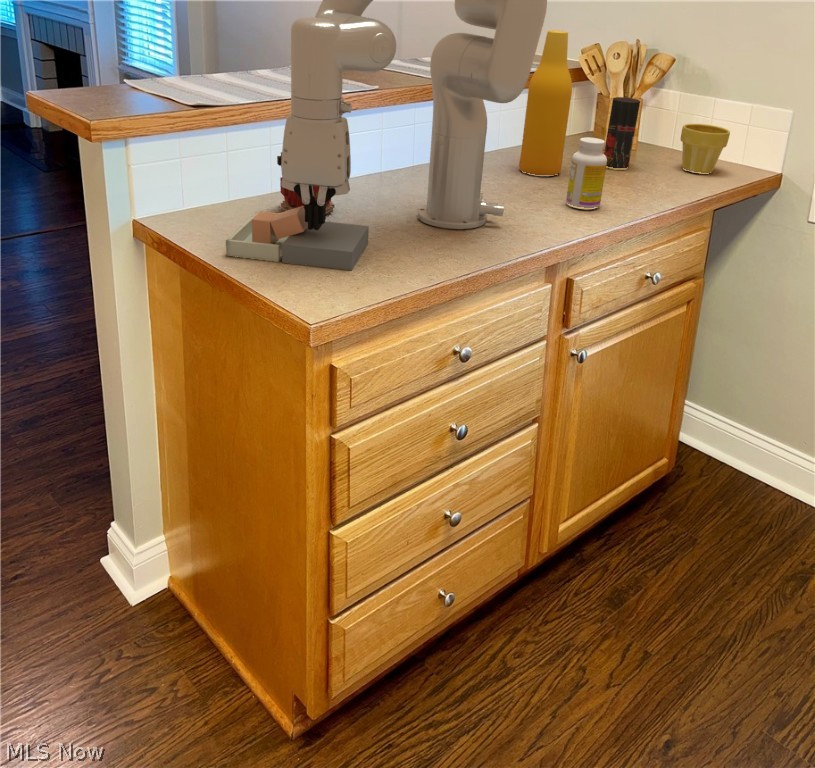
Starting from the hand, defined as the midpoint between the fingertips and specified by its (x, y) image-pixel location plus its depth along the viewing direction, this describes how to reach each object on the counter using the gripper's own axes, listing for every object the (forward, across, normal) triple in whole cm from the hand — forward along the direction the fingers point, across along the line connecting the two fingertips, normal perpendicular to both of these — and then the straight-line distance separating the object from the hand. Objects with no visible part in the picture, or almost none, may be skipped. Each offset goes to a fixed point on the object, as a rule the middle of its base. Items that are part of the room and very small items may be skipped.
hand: (315, 227), depth 138 cm
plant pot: (+4, -71, -79) cm, 106 cm away
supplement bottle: (+4, -44, -41) cm, 60 cm away
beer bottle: (+4, -35, -64) cm, 73 cm away
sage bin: (+4, +8, 0) cm, 9 cm away
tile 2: (+1, +4, 0) cm, 4 cm away
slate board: (+4, -2, 0) cm, 5 cm away
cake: (+4, +6, -20) cm, 22 cm away
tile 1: (+2, +7, 0) cm, 7 cm away
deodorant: (+4, -52, -75) cm, 91 cm away
